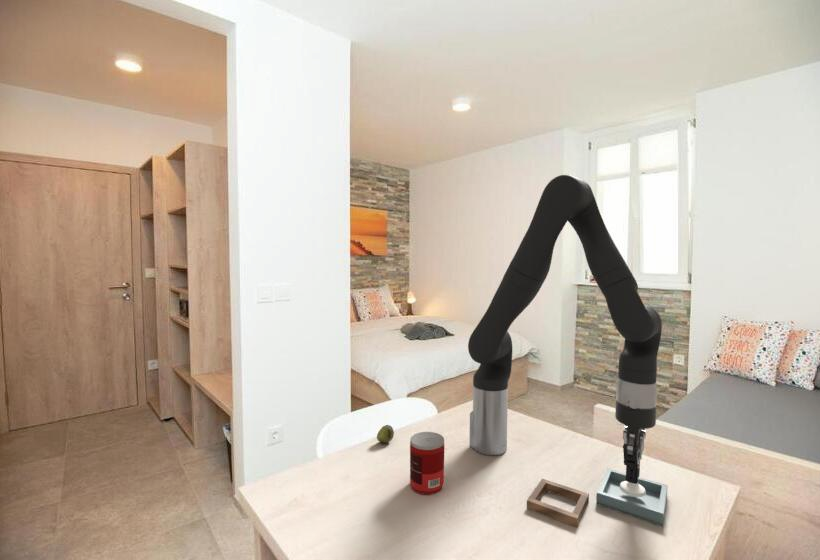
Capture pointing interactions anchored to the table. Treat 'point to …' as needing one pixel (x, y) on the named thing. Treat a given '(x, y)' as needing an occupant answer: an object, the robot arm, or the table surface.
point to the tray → (638, 507)
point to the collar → (553, 511)
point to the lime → (385, 434)
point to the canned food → (427, 462)
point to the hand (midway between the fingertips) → (632, 478)
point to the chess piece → (632, 489)
